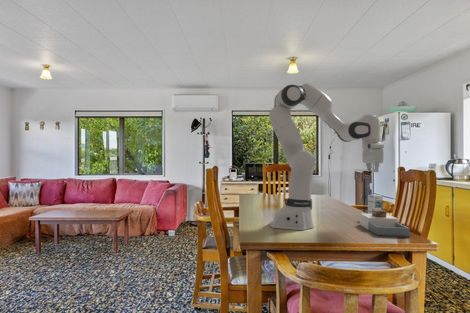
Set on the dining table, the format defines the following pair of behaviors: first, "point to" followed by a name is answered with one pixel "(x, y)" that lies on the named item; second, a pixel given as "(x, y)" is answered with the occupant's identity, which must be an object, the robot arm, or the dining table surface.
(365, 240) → the dining table surface
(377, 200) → the syrup box
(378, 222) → the raised plate
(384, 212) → the walnut tile
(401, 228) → the box
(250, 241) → the dining table surface
